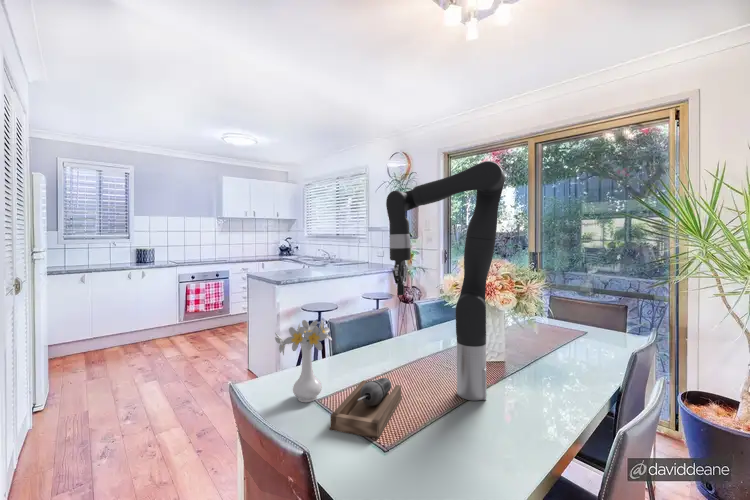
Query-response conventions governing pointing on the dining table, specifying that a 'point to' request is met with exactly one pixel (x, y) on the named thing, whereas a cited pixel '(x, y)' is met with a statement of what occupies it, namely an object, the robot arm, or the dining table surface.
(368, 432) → the u rest
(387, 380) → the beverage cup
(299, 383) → the flower vase
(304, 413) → the dining table surface
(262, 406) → the dining table surface
